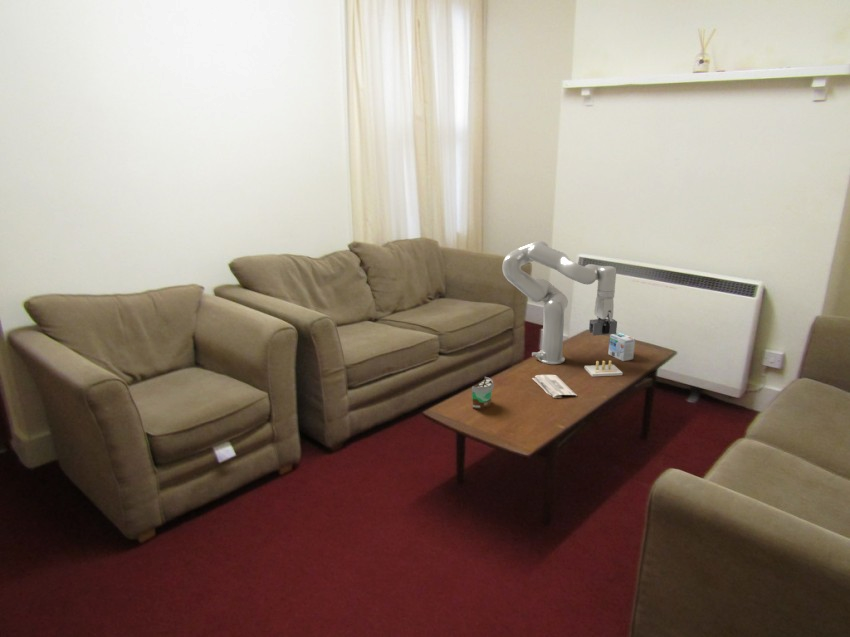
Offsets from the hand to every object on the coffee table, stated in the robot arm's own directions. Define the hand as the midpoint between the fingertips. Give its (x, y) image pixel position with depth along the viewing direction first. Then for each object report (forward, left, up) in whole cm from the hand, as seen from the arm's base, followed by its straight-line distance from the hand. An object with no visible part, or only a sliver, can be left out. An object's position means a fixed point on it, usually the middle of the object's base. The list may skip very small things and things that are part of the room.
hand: (602, 331), depth 261 cm
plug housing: (0, 0, -1) cm, 1 cm away
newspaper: (-29, -20, -18) cm, 40 cm away
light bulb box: (+15, +11, -18) cm, 26 cm away
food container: (-62, -34, -18) cm, 73 cm away
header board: (-1, -6, -18) cm, 19 cm away
